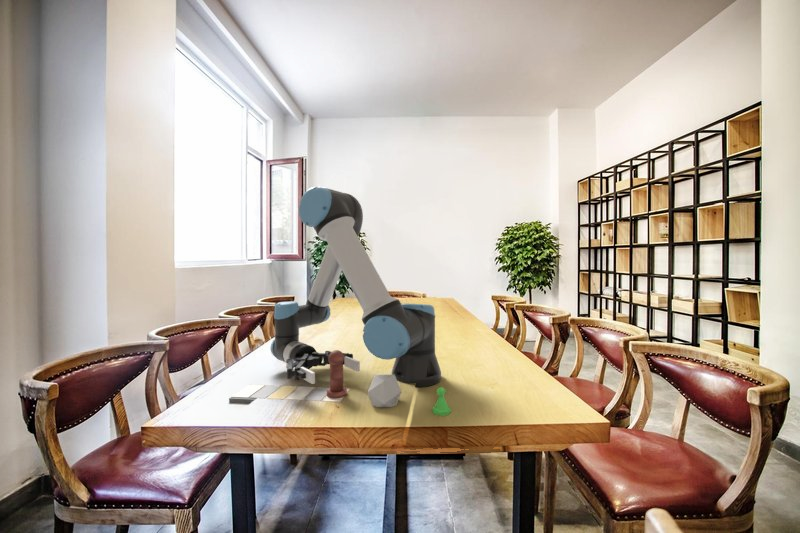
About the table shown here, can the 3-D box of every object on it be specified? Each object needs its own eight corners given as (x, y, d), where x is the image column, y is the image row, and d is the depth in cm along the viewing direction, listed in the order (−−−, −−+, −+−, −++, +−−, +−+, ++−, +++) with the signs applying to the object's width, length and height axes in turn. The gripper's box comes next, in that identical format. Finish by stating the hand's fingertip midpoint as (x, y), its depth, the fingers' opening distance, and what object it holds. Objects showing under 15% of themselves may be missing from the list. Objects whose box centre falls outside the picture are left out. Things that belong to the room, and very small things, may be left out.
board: (351, 391, 95) (351, 387, 95) (340, 407, 85) (340, 402, 85) (250, 387, 99) (250, 383, 99) (229, 402, 89) (229, 397, 89)
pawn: (349, 391, 93) (348, 348, 92) (343, 398, 87) (342, 353, 87) (330, 390, 93) (330, 347, 93) (323, 398, 88) (323, 352, 88)
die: (389, 421, 79) (409, 383, 82) (357, 400, 80) (379, 364, 83) (389, 418, 87) (408, 383, 90) (361, 399, 88) (380, 366, 91)
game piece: (441, 417, 79) (440, 391, 79) (428, 410, 83) (428, 386, 82) (454, 412, 82) (454, 387, 82) (441, 406, 85) (441, 382, 85)
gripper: (335, 359, 114) (375, 374, 98) (259, 377, 97) (292, 399, 81) (335, 337, 114) (374, 348, 98) (259, 351, 97) (291, 368, 81)
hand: (337, 372), depth 89 cm, fingers open, 13 cm apart
